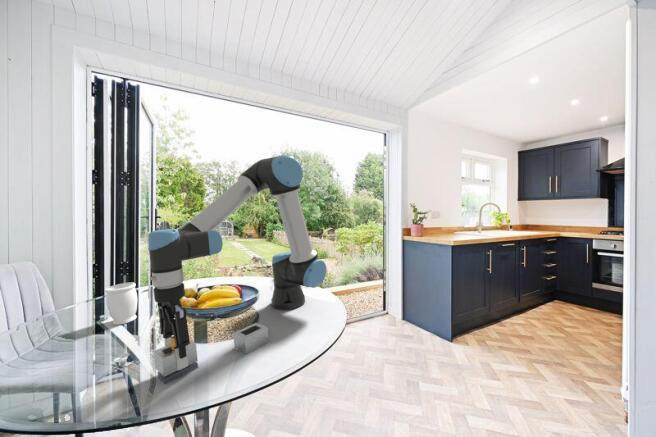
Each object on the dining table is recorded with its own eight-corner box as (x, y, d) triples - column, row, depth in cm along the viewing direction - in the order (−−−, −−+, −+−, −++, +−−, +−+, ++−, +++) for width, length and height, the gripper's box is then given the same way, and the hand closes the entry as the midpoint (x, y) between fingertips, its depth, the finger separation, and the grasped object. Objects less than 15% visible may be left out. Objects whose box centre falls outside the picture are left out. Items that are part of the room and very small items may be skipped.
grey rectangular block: (187, 353, 88) (186, 338, 87) (197, 360, 84) (196, 344, 83) (155, 368, 81) (153, 351, 81) (164, 376, 77) (162, 358, 76)
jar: (124, 326, 115) (119, 290, 114) (102, 326, 118) (98, 290, 116) (145, 315, 126) (141, 282, 124) (125, 314, 128) (121, 282, 127)
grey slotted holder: (257, 336, 101) (256, 322, 101) (268, 341, 97) (267, 327, 97) (234, 347, 94) (233, 333, 94) (246, 354, 90) (244, 338, 90)
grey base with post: (190, 361, 88) (186, 328, 87) (198, 367, 84) (194, 333, 83) (158, 377, 81) (153, 341, 80) (165, 384, 78) (160, 346, 77)
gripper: (141, 282, 84) (150, 358, 86) (168, 295, 71) (178, 383, 73) (169, 276, 89) (176, 347, 91) (198, 286, 77) (206, 368, 79)
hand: (177, 363), depth 82 cm, fingers closed on grey rectangular block, 6 cm apart
